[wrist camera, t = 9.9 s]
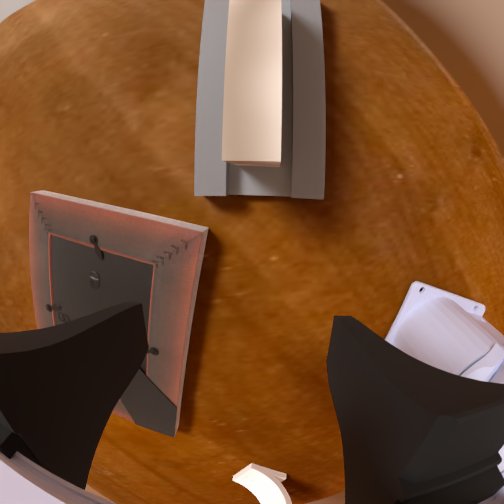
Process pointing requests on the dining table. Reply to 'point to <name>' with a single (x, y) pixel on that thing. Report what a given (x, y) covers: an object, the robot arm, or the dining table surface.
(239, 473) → the headphone stand
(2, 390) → the robot arm
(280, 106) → the frame
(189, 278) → the picture frame
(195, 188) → the grooved channel
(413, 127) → the dining table surface
